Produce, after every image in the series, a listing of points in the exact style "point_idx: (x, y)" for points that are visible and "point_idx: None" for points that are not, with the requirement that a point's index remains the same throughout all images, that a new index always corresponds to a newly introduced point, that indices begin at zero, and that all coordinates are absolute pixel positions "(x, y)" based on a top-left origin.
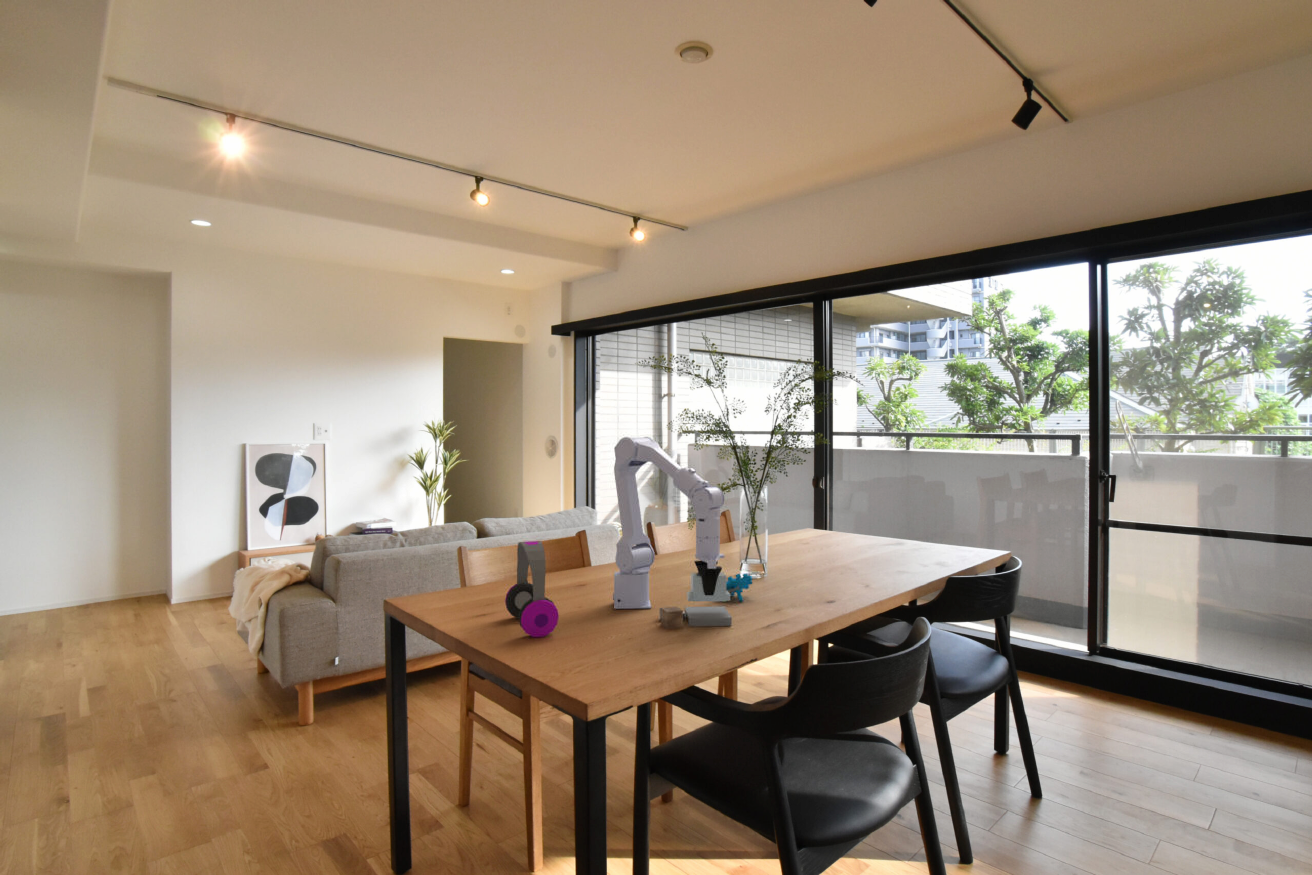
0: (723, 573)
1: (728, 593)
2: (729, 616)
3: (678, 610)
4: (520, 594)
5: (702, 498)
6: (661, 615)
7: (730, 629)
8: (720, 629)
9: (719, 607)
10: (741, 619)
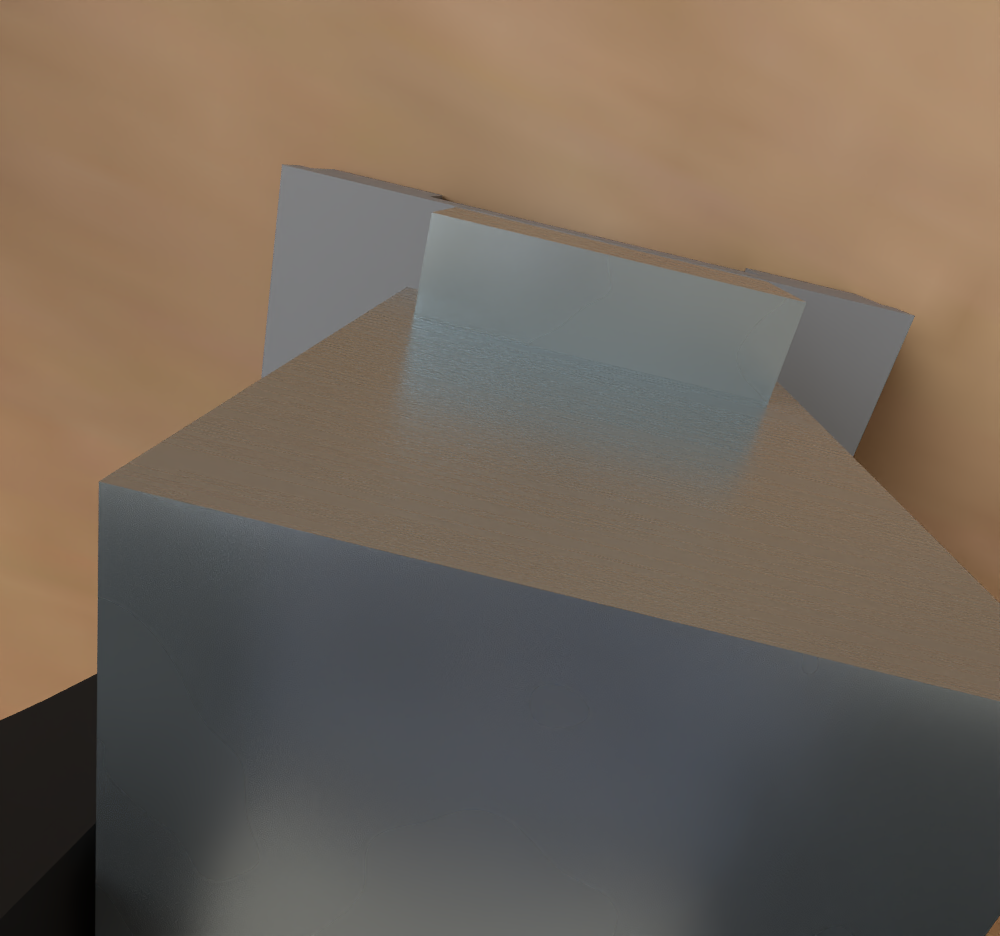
0: (442, 608)
1: (706, 306)
2: (853, 326)
3: None
4: None
5: None
6: None
7: (994, 370)
8: (932, 482)
9: (333, 273)
10: (628, 13)
